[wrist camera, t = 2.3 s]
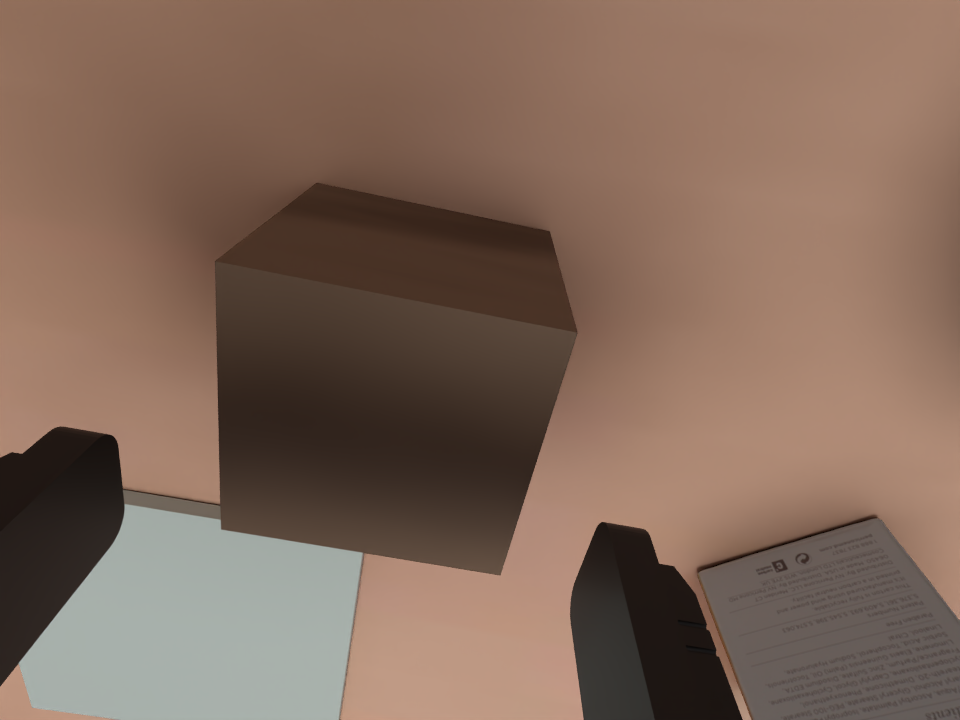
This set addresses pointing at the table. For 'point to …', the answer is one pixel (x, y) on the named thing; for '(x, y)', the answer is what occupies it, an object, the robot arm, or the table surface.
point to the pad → (200, 624)
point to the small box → (837, 630)
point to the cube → (386, 376)
